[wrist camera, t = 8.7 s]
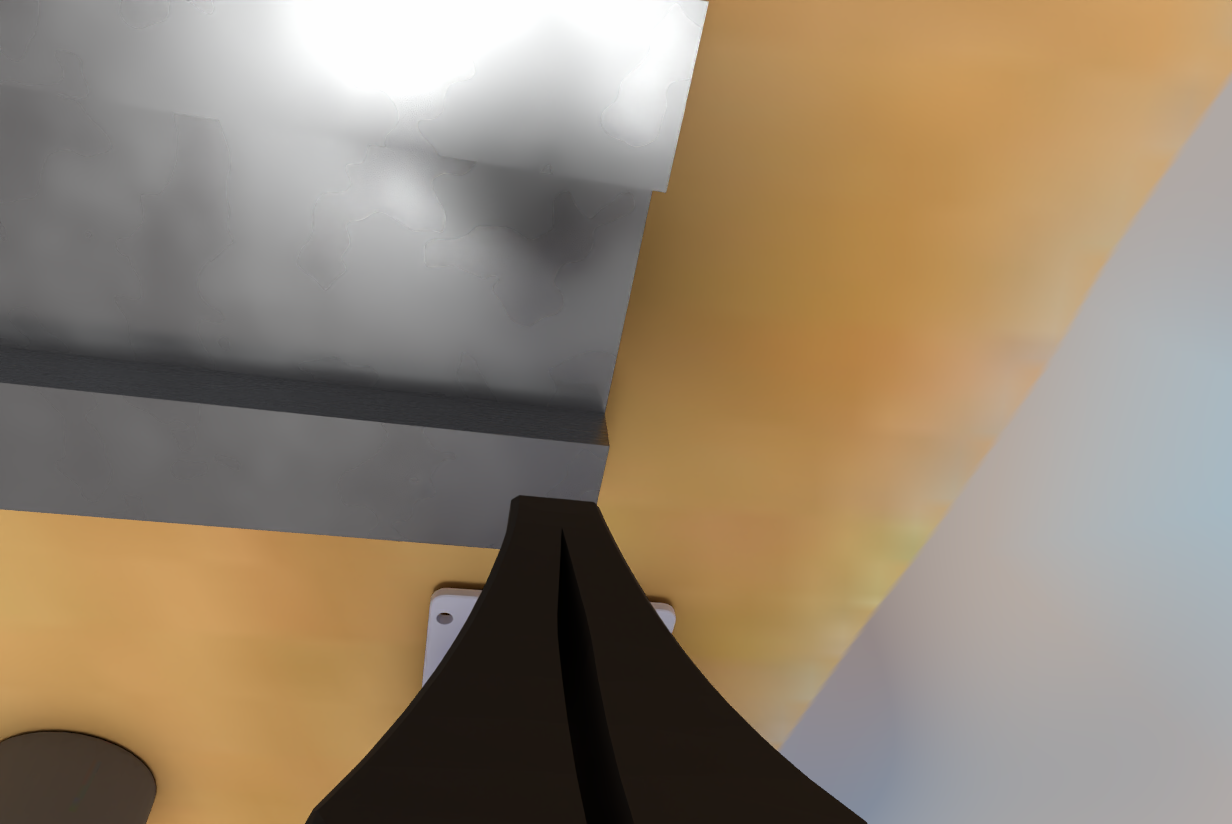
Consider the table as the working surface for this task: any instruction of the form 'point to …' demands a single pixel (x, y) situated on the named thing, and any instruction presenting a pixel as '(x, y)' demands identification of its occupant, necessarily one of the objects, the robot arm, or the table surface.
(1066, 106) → the table surface
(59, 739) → the bottle
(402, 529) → the slotted plate
